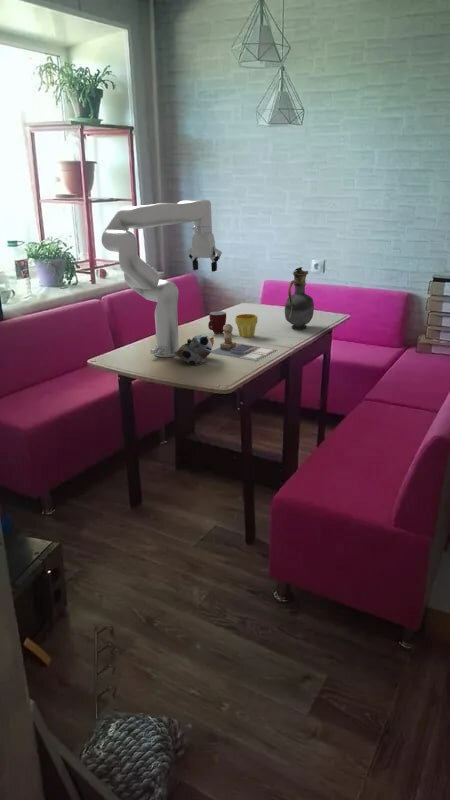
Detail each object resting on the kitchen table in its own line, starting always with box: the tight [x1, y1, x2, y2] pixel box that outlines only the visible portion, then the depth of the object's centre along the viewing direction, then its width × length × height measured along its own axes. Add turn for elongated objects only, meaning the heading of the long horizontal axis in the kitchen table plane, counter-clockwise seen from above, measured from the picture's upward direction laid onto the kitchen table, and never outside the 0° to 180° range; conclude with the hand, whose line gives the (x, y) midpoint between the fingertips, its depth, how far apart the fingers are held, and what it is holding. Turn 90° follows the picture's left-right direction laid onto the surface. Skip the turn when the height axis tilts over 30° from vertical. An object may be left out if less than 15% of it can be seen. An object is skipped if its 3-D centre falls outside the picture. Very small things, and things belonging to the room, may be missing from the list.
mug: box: [208, 310, 227, 335], centre depth 284 cm, size 10×8×10 cm
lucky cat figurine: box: [175, 334, 215, 366], centre depth 244 cm, size 15×12×14 cm
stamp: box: [219, 323, 237, 351], centre depth 258 cm, size 5×5×11 cm
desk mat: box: [210, 342, 277, 363], centre depth 256 cm, size 18×24×1 cm
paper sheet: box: [239, 346, 277, 361], centre depth 252 cm, size 17×8×1 cm, turn 146°
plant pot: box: [234, 313, 258, 339], centre depth 279 cm, size 10×10×10 cm
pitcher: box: [284, 266, 315, 331], centre depth 286 cm, size 11×19×30 cm, turn 147°
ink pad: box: [230, 343, 255, 355], centre depth 256 cm, size 9×7×2 cm
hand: (204, 270), depth 261 cm, fingers open, 9 cm apart
